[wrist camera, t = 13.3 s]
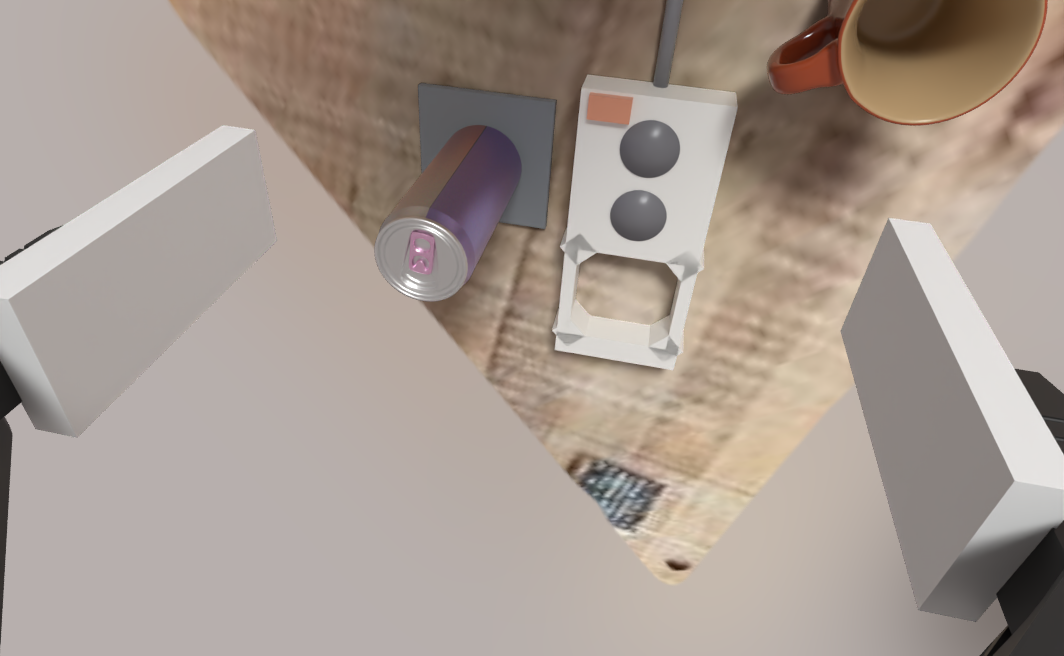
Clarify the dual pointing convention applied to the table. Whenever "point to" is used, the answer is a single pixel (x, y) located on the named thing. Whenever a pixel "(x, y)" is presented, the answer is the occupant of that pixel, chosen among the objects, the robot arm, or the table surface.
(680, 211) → the strip dock
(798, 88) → the mug
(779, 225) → the table surface
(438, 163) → the beverage can
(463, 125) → the coaster
